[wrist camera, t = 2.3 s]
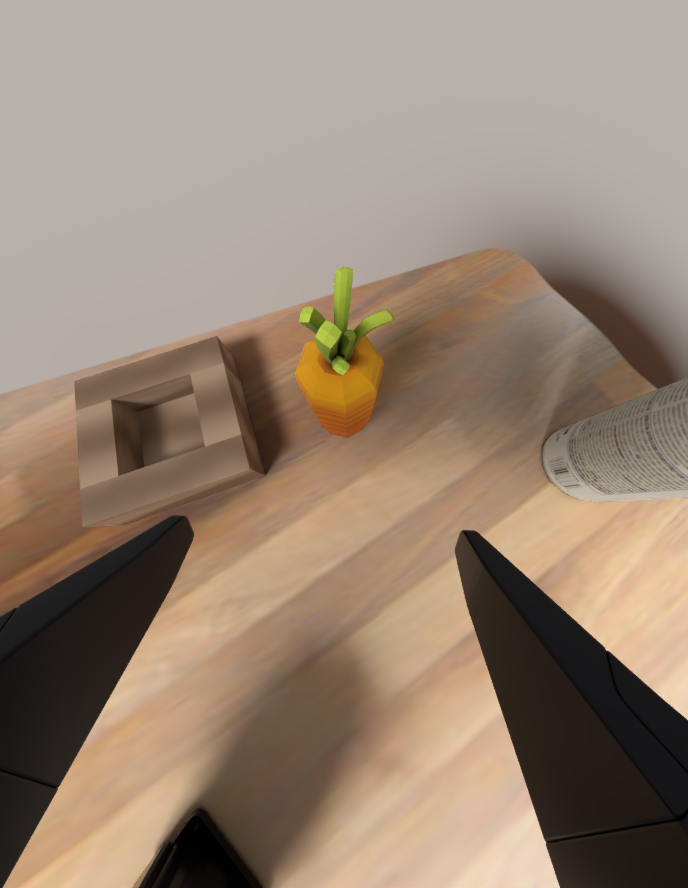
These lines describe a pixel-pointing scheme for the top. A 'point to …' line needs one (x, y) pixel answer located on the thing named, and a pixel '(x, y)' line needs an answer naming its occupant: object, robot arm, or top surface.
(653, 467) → the spray can
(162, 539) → the robot arm
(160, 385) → the walnut socket block
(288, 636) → the top surface
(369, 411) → the carrot
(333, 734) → the top surface
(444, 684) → the top surface
